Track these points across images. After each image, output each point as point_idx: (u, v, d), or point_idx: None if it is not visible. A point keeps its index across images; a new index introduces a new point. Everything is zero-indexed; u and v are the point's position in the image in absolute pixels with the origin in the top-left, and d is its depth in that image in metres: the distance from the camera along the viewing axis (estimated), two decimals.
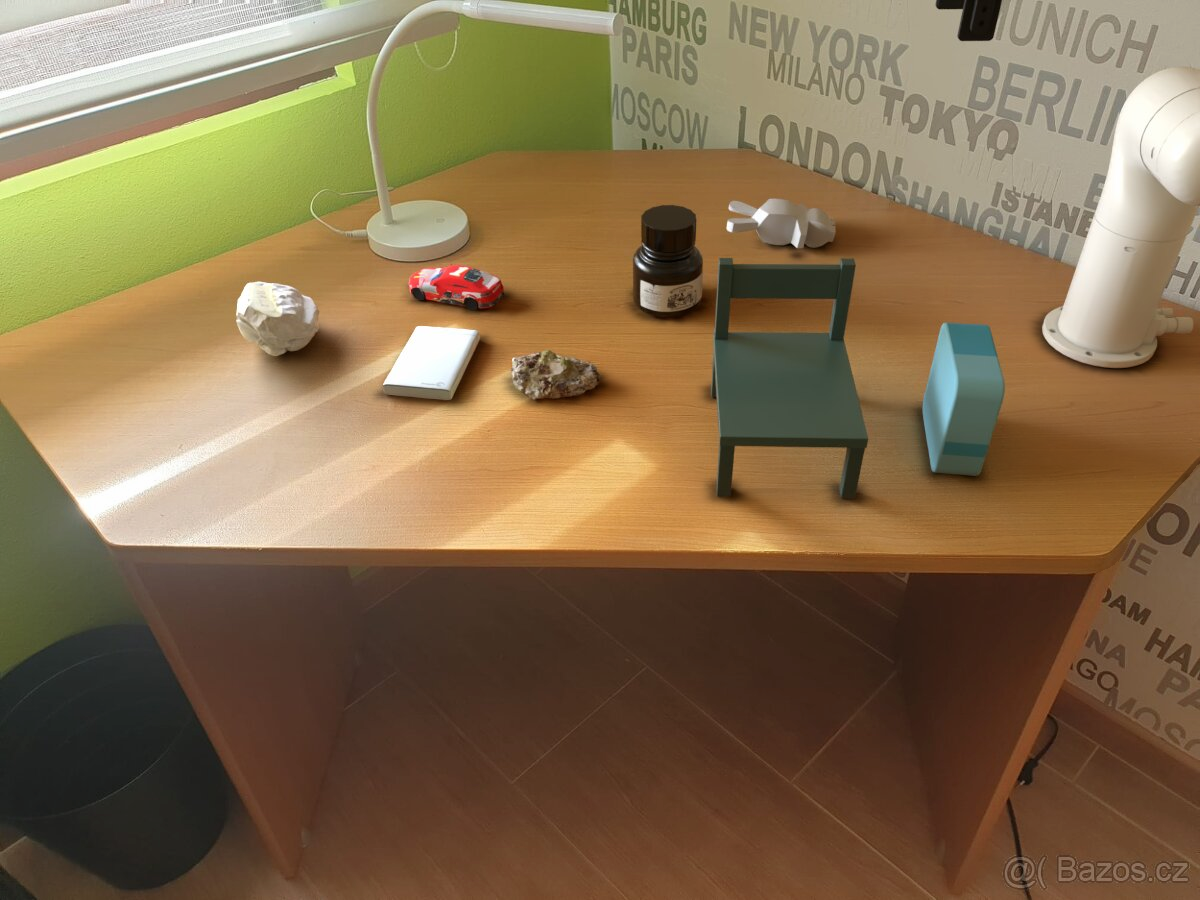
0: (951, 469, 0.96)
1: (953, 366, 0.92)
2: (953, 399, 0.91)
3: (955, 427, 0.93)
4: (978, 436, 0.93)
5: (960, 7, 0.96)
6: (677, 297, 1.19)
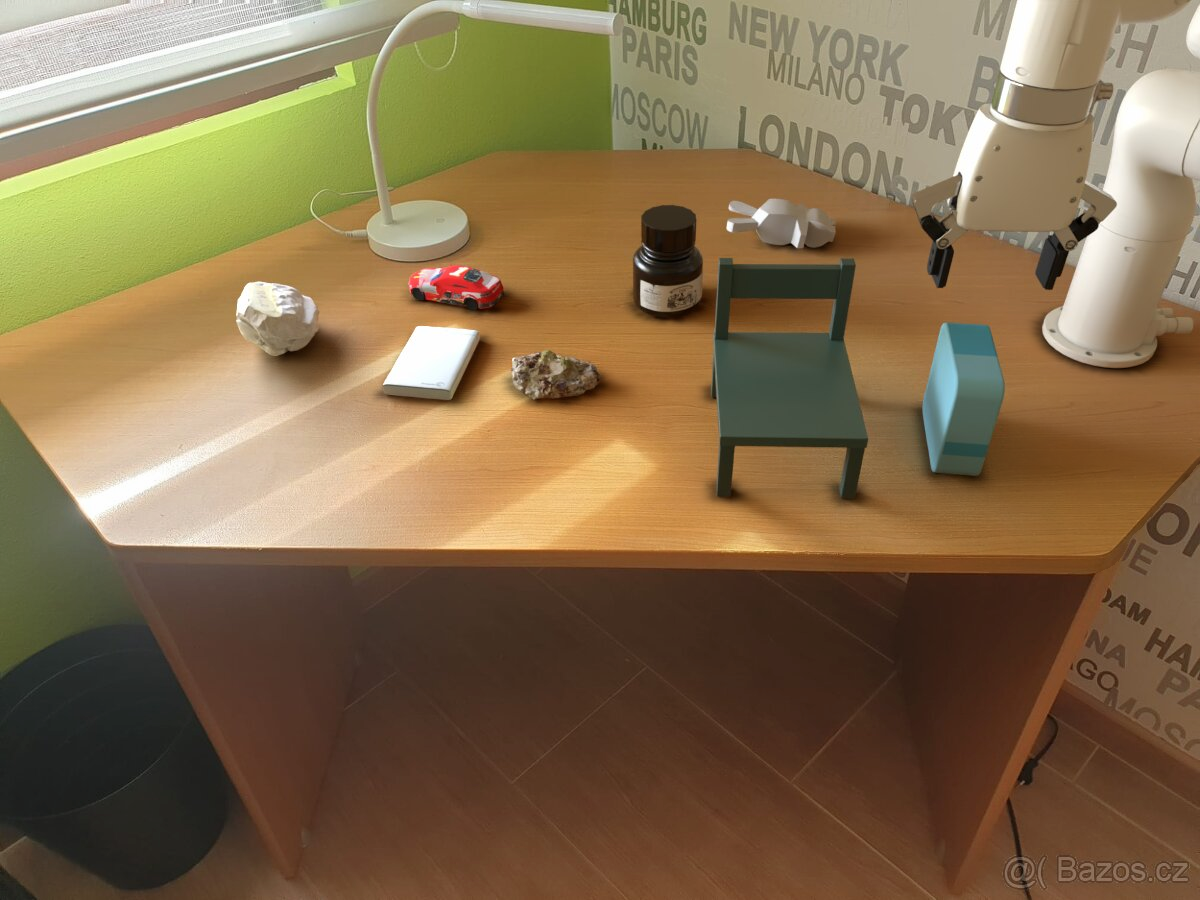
0: (951, 469, 0.96)
1: (953, 366, 0.92)
2: (953, 399, 0.91)
3: (955, 427, 0.93)
4: (978, 436, 0.93)
5: None
6: (677, 297, 1.19)
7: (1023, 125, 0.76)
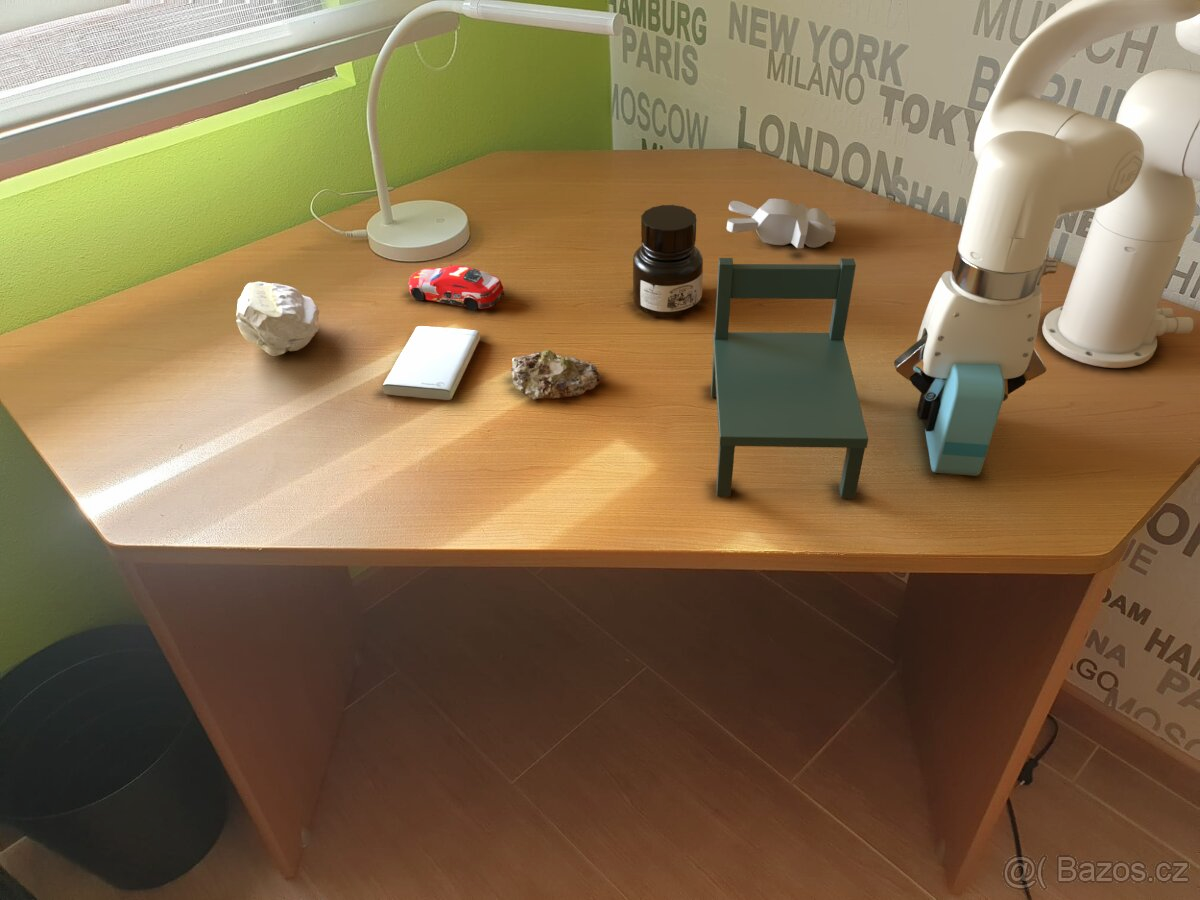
0: (951, 469, 0.96)
1: (953, 366, 0.92)
2: (953, 399, 0.91)
3: (955, 427, 0.93)
4: (978, 436, 0.93)
5: None
6: (677, 297, 1.19)
7: (978, 299, 0.87)
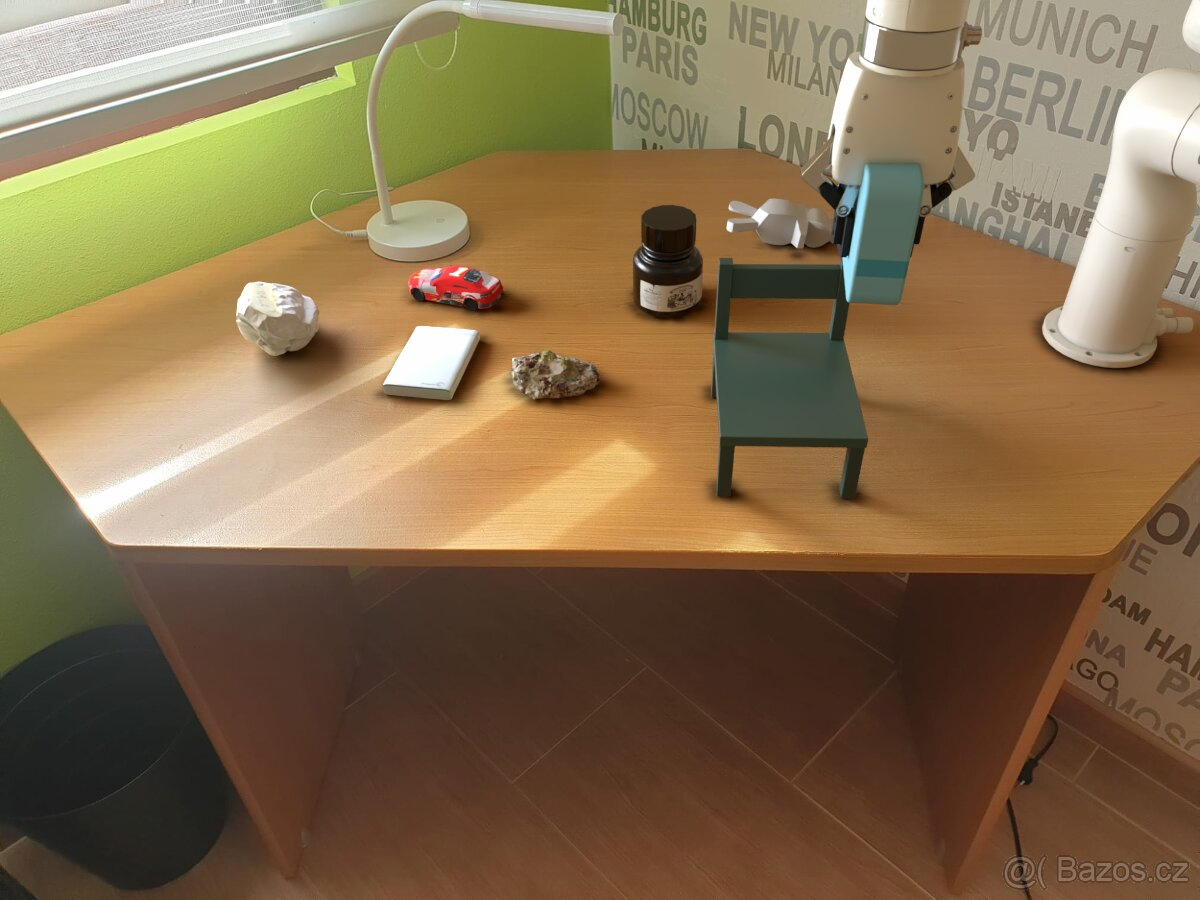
0: (868, 296, 0.83)
1: (865, 167, 0.79)
2: (864, 202, 0.78)
3: (869, 239, 0.80)
4: (895, 251, 0.80)
5: None
6: (677, 297, 1.19)
7: (888, 71, 0.73)
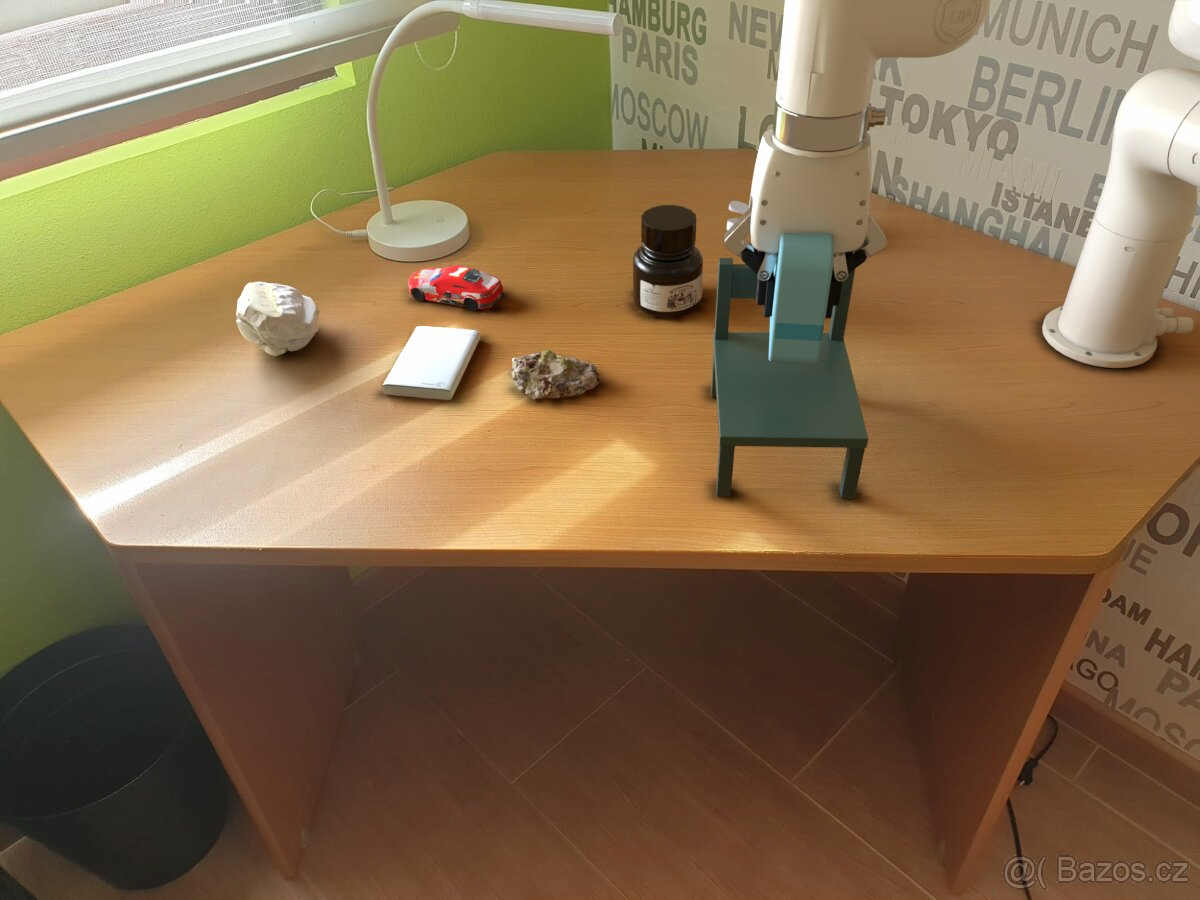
0: (787, 356, 0.87)
1: (780, 237, 0.83)
2: (778, 271, 0.82)
3: (784, 305, 0.84)
4: (810, 316, 0.84)
5: None
6: (677, 297, 1.19)
7: (796, 152, 0.78)
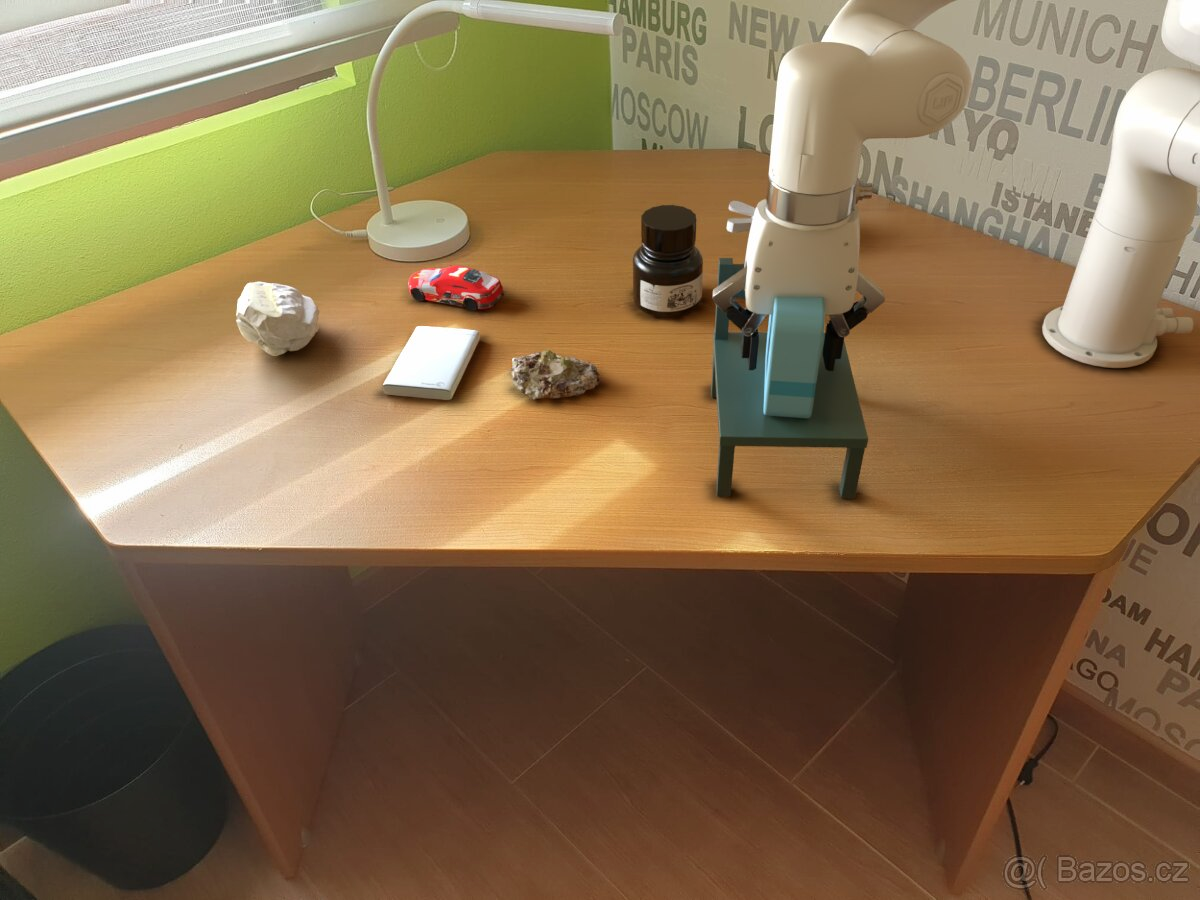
0: (781, 411, 0.92)
1: (774, 300, 0.87)
2: (772, 333, 0.86)
3: (778, 364, 0.88)
4: (803, 374, 0.88)
5: None
6: (677, 297, 1.19)
7: (788, 224, 0.82)
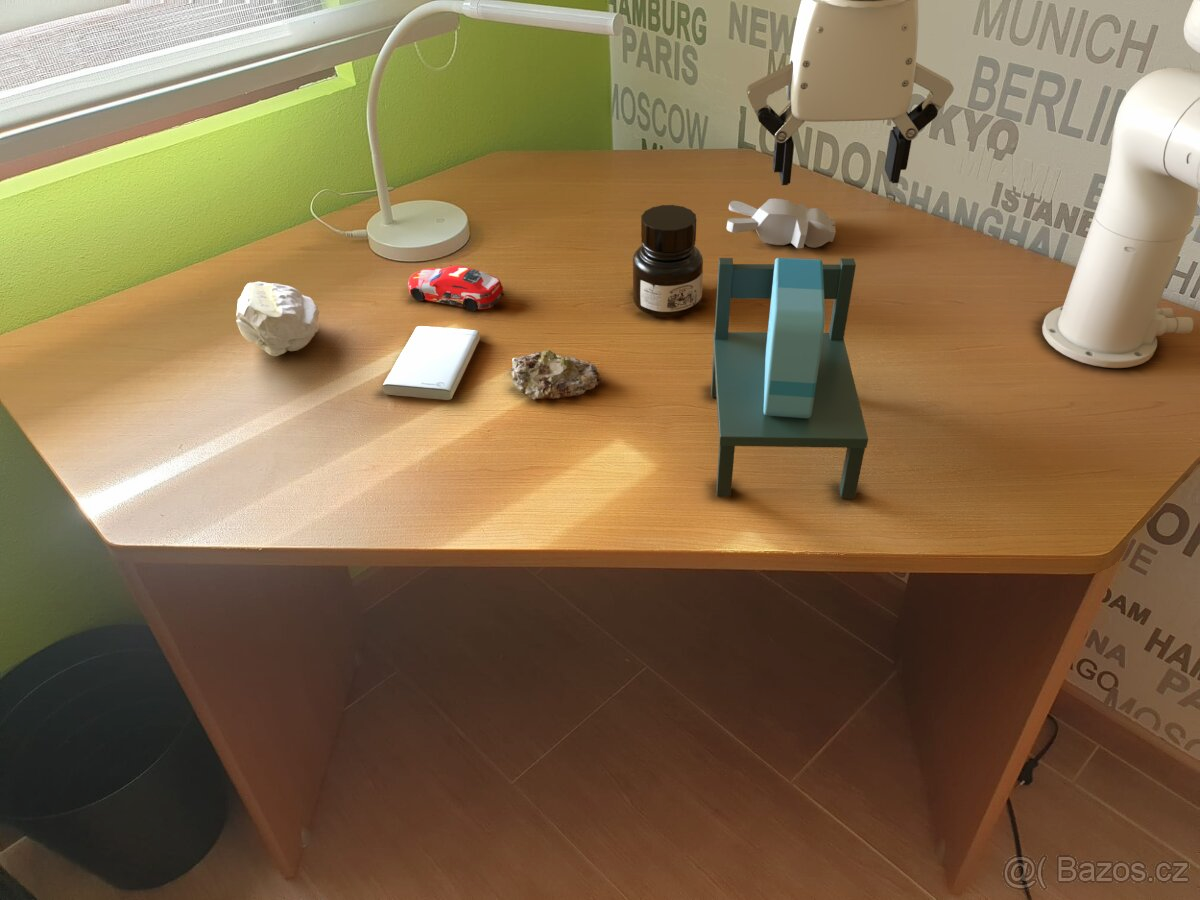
0: (781, 411, 0.92)
1: (774, 300, 0.87)
2: (772, 333, 0.86)
3: (778, 364, 0.88)
4: (803, 374, 0.88)
5: None
6: (677, 297, 1.19)
7: (841, 2, 0.74)
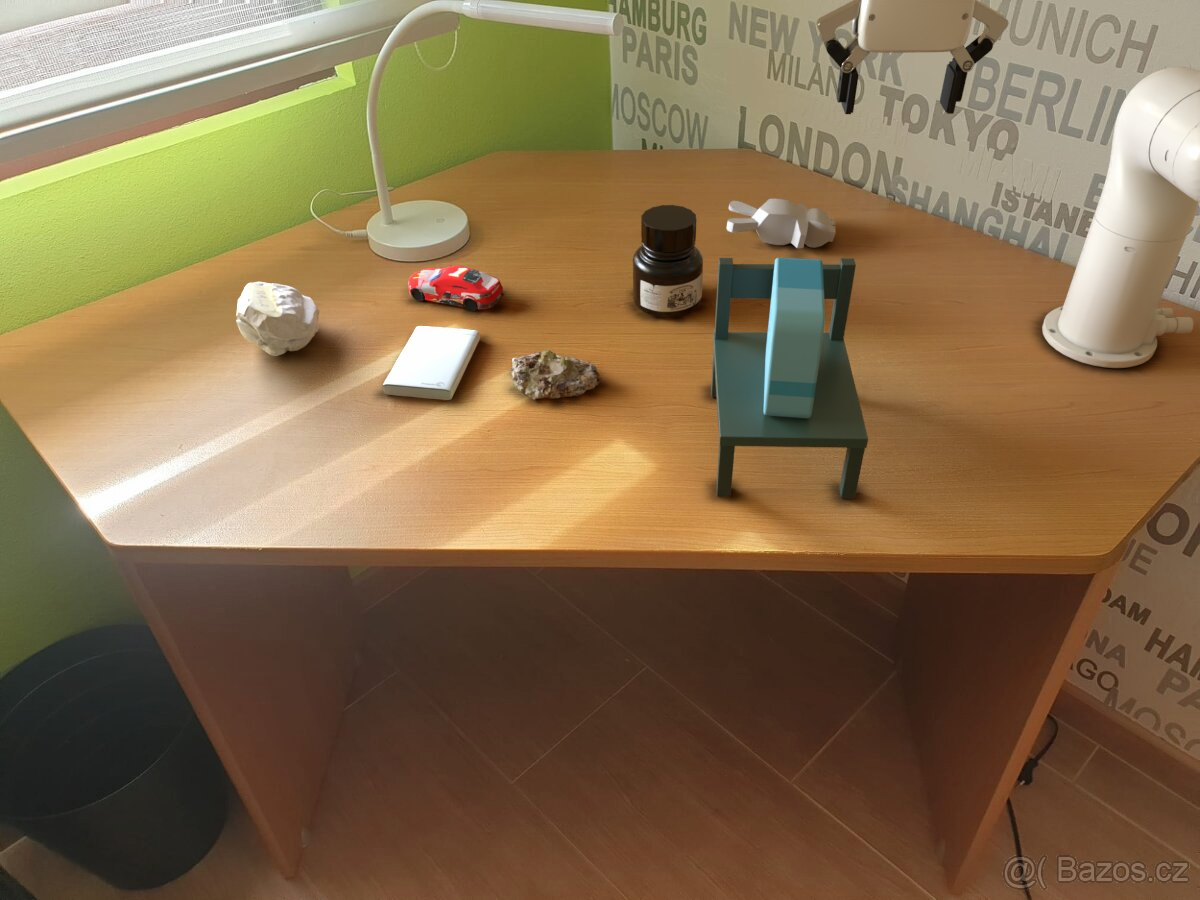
0: (781, 411, 0.92)
1: (774, 300, 0.87)
2: (772, 333, 0.86)
3: (778, 364, 0.88)
4: (803, 374, 0.88)
5: None
6: (677, 297, 1.19)
7: None
